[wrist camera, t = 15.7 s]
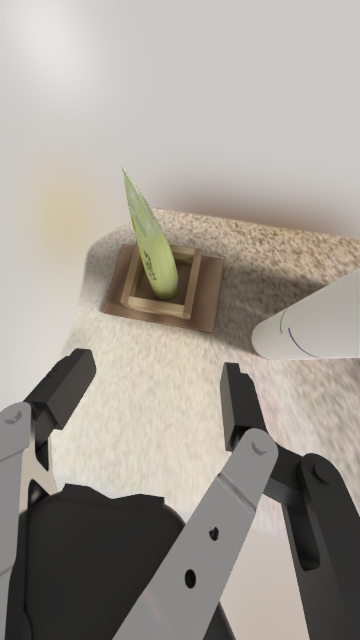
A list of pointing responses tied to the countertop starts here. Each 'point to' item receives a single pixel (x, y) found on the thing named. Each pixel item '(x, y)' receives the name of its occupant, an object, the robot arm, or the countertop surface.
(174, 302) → the wooden box on board
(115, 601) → the robot arm
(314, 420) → the countertop surface
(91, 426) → the countertop surface
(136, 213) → the tube
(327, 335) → the cylindrical container
